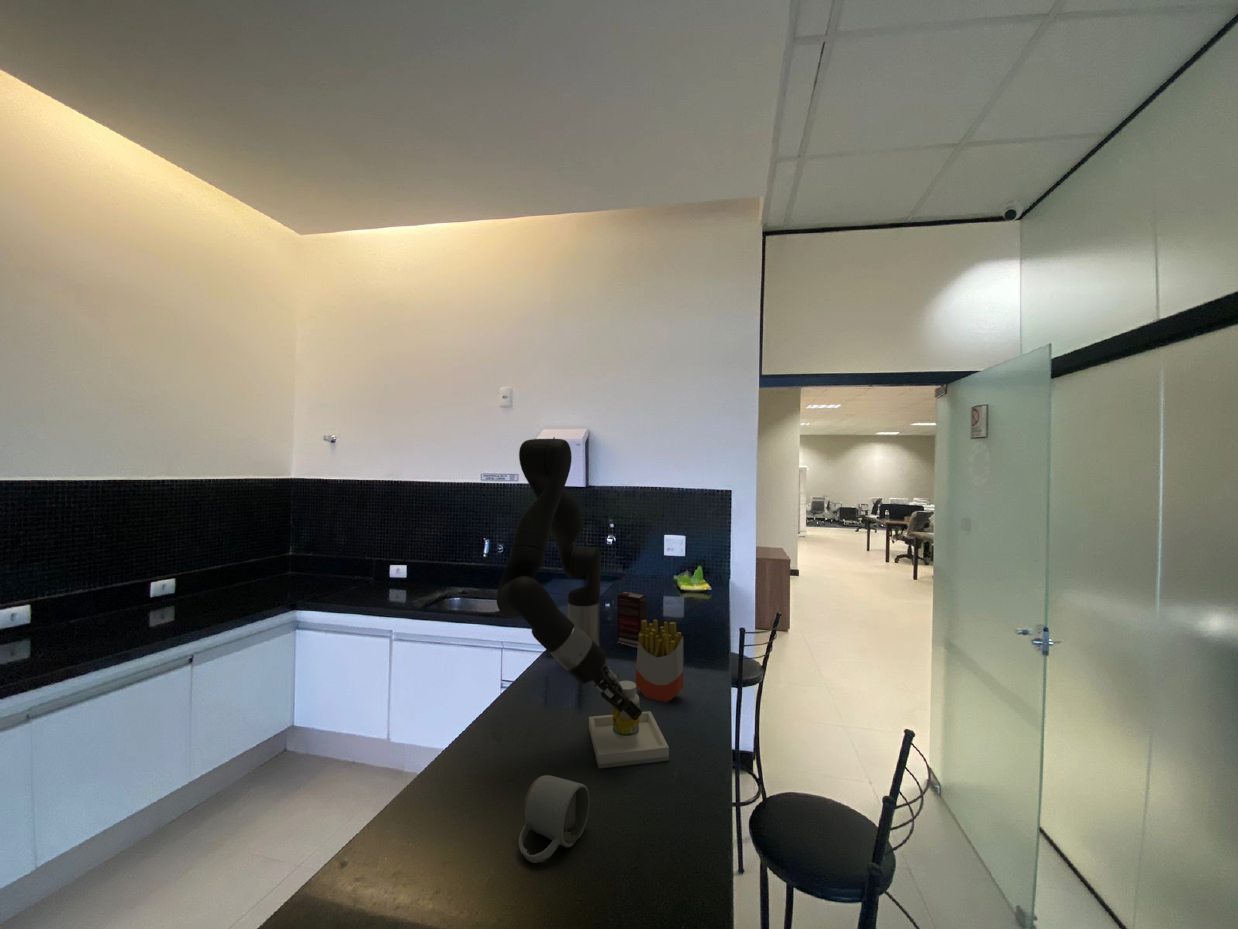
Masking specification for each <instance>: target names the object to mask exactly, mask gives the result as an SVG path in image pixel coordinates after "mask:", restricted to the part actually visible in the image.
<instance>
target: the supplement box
mask: <svg viewBox="0 0 1238 929" xmlns="http://www.w3.org/2000/svg"><path fill="white" fill-rule="evenodd" d="M647 604H648V602H647V594H641V593H635V592H630V591H623V592H621V593H618V594H617V633H616V634H617V636H616V637H617V644H618V643H621V644H620V645H622V644H625V645H624V646H626V645H628V646H627V647H630V646H631V648H635V647H636V648H635V649H638V639H639V637H638V635H639V632H640V631H641V630H642V625H641V621H642V620H647V613H648V612H647V611H648V610H647V607H648V606H647ZM647 621H648V620H647Z"/></svg>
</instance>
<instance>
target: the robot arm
mask: <svg viewBox="0 0 1238 929" xmlns="http://www.w3.org/2000/svg"><path fill="white" fill-rule="evenodd" d="M571 449H572V448H571V446H570V444H569V443H568V441H567V440H566V439H563V438H533V439H532V438H531V439H527V440H525V441H524V442H522V443H521V445H520V446H519V450H518V460H519V465H520V467H521V468H520V469H521V470H522V474H523V476H524V477H525V480H526V482H527V483H528V485H529V486H530V488H531V490H532V491H533V493H534V495H535V497H536V499H535V501H534V502H532V504H531V505H530V507H529V508H528V509H527V510H526V511H525V512H524V513H523V515H522V516H521V518H520V519H519V522H518V523H517V525H516V529H515V531H514V536H513V541H512V544H511V549H510V556H509V558H508V562H507V564H506V566H505V568H504V571H503V573H502V575H501V578H500V581H499V584H498V588H497V591H496V597H495V598H496V605H497V608H498V611H499V612H500V613H501V614H502V615H504V616H505V617H508V618H518V617H522V618H523V619H524V620H525V622H527V623H528V625H529V626H530V627H531V635H532V636H533V637H534V639H535V640H536V641H537V643H539V644H540V645H541V646H542V647H543V648H544V649H546V651H547V652H549V653H550V655H551V656H552V658H554V660H555V661H556V662H557V663H558V664H559V665H560V666H561V667H562V668H563V669H564V670H565V671H566V672H567V673H568V674H570V675H571V676H572V677H573V679H575V680H576V681H577V682H578V683H579V684H581V685H583V684H584V685H585V684H587V683H590V682H592V681H593V682H594V687H595V689H596V690H598V692H600V696H601V697H602V698H603V699H604V700H606V702H608V703H609V704H610V705H612V707H613V706H614V707H615V708H616V709H617V710H618V711H620V712H622V711H623V710H624V711H625V712H626V713H627V714H628V715H629V716H630V717H631V718H632V719H633V720H637V719H638V717H639V716H640V715H641V714H642V712H643V711H642V709H641V708H640V707H639V708H638V707H637V706H636V705H635V704H634V703H633V702H632V701H631V700H630V699H629V697H628V696H627V695H626V694H625V693H624V692H623V687H622V686H621V685H620V684H619V683H618V682H620V681H621V680H620V677H619V675H618V674H616V673H615V672H614V670H613V669H612V668H611V667H610V666H609V665H608V664H607V663H606V660H607V654H606V652H605V651H604V650H603V648H601V646H600V595H601V594H600V592H601V573H602V572H601V571H602V554H601V550H600V548H598V547H596V546H583V545H582V546H580V545H579V546H578V545H575V544H574V542H575V541H576V539H577V538H578V536H579V535H580V533H581V532H582V529H583V527H584V518H583V515H582V512H581V511H582V510H581V508H580V505H579V503H578V501H577V500H576V498H575V497H574V496H573V495H571V493H570V492H569V491H567V490H566V489H565V486H566V484H567V480H568V477H569V475H570V471H571V466H572V456H573V455H572V450H571ZM550 533H551V535H552V538H553V540H554V543H555V545H556V548H557V552H558V556H559V560H560V564H561V567H562V571H563V573H564V574H565V575H566V577H568V578H570V579H581V580H587V581H586V584H585V585H583V586H581V587H578V588H577V587H576V588H574V589H572V590H570V591H569V592H568V594H567V616H566V614H565V613H563V612H562V611H561V610H560V609H559V607H558V606H557V604H556V603H555V601H554V599H553V598H552V597H551V595H550V594H549V592H548V590H547V589H546V588H545V587H544V586H543V585H542V584H541V583H540V582H539V581H538V580H536V579H535V578H536V575H537V572H538V571H539V569H540V568H542V566H543V564H544V563H545V562H544V561H545V559H546V555H547V554H546V553H547V547H548V544H549V543H548V542H549V538H550ZM617 687H618V689H617ZM620 699H622V700H621V701H620V702H618V701H619V700H620Z"/></svg>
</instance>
